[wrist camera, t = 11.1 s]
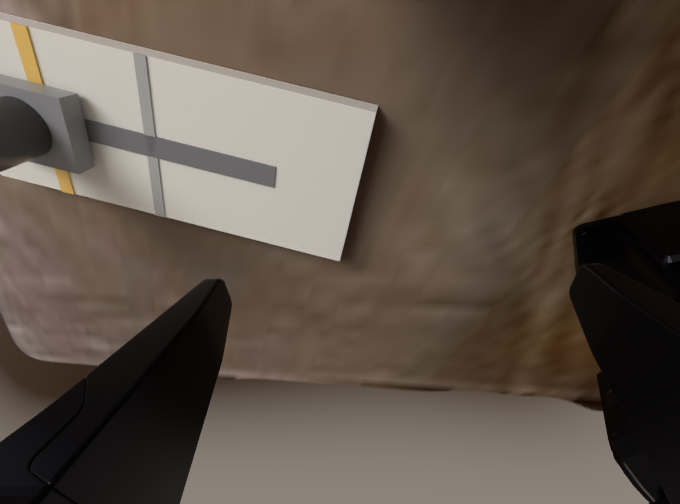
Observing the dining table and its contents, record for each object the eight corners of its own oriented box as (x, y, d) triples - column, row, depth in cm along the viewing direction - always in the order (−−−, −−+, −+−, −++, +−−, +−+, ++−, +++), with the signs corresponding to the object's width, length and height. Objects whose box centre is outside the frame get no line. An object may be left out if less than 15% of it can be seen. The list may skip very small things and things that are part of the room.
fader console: (378, 105, 18) (376, 113, 16) (343, 248, 23) (339, 262, 21) (-47, 0, 18) (-83, -1, 17) (14, 164, 23) (-9, 173, 22)
